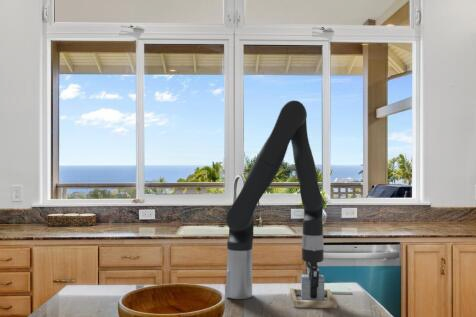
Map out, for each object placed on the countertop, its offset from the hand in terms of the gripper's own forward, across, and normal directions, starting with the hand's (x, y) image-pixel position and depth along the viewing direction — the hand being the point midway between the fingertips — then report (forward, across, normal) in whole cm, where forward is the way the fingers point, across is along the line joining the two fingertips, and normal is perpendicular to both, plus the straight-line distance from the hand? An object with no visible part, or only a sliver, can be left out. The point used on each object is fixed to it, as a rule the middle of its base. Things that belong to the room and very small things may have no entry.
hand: (312, 295), depth 147 cm
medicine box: (+2, 0, 0) cm, 2 cm away
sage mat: (+2, -14, +10) cm, 17 cm away
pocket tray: (+2, 0, 0) cm, 2 cm away
